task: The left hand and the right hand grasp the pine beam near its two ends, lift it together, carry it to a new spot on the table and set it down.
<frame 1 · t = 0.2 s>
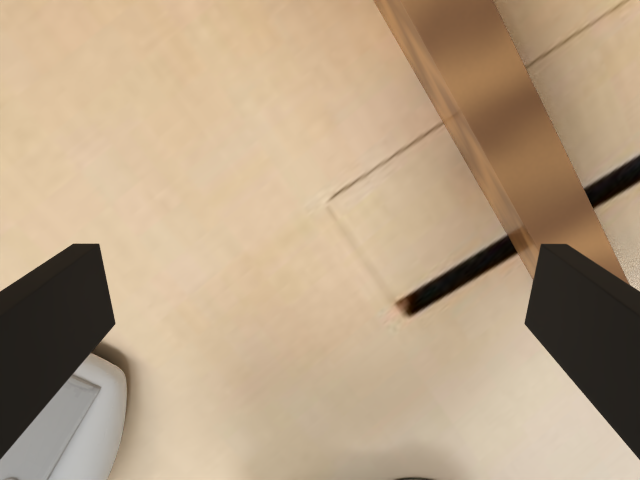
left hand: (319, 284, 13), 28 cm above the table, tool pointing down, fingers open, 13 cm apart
projector: (64, 414, 50), on the table
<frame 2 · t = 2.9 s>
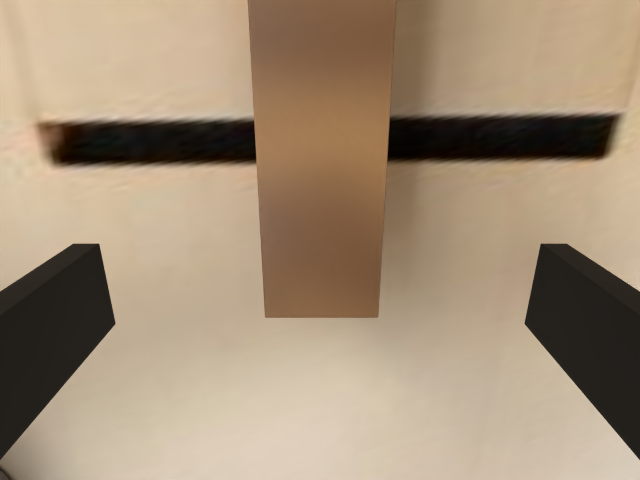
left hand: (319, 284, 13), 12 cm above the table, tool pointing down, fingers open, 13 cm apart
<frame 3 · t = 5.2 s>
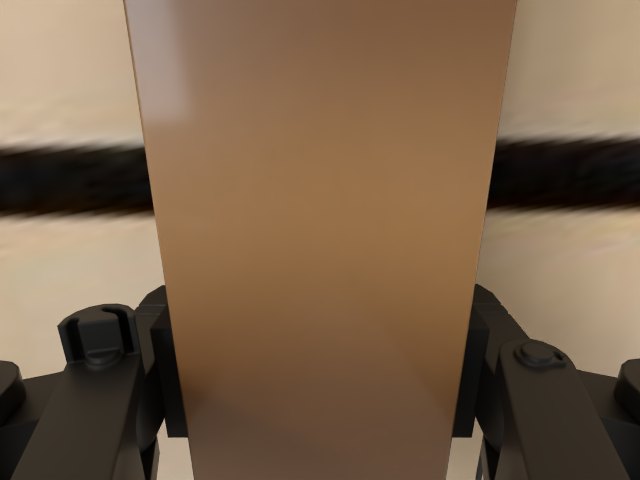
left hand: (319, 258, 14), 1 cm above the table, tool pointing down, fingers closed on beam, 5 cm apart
when the left hand's fingers open (1 cm above the table, at t = 9.4 s): beam stays where it is, on the table.
when the right hand's fingers open (4 cm above the table, at t = 9.6 s): beam stays where it is, on the table.
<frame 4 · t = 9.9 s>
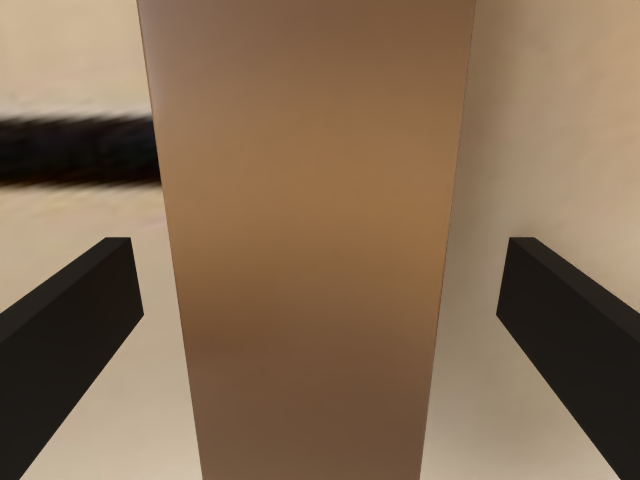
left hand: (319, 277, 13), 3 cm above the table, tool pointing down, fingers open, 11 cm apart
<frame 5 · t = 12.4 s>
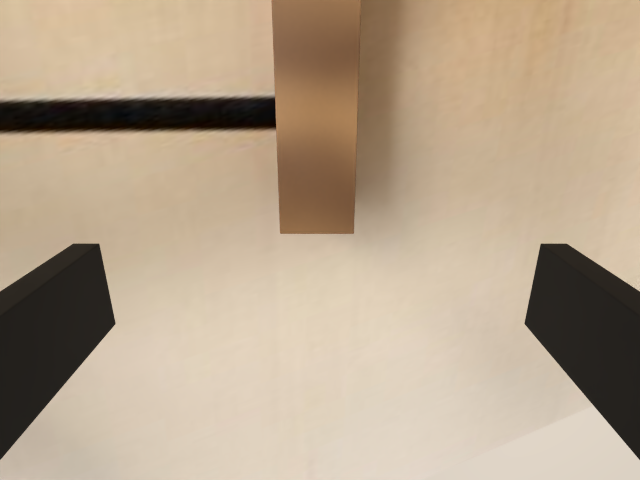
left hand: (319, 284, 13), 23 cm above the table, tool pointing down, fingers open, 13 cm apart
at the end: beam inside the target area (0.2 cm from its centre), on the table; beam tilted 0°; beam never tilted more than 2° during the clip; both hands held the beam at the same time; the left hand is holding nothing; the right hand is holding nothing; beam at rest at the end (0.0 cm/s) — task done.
